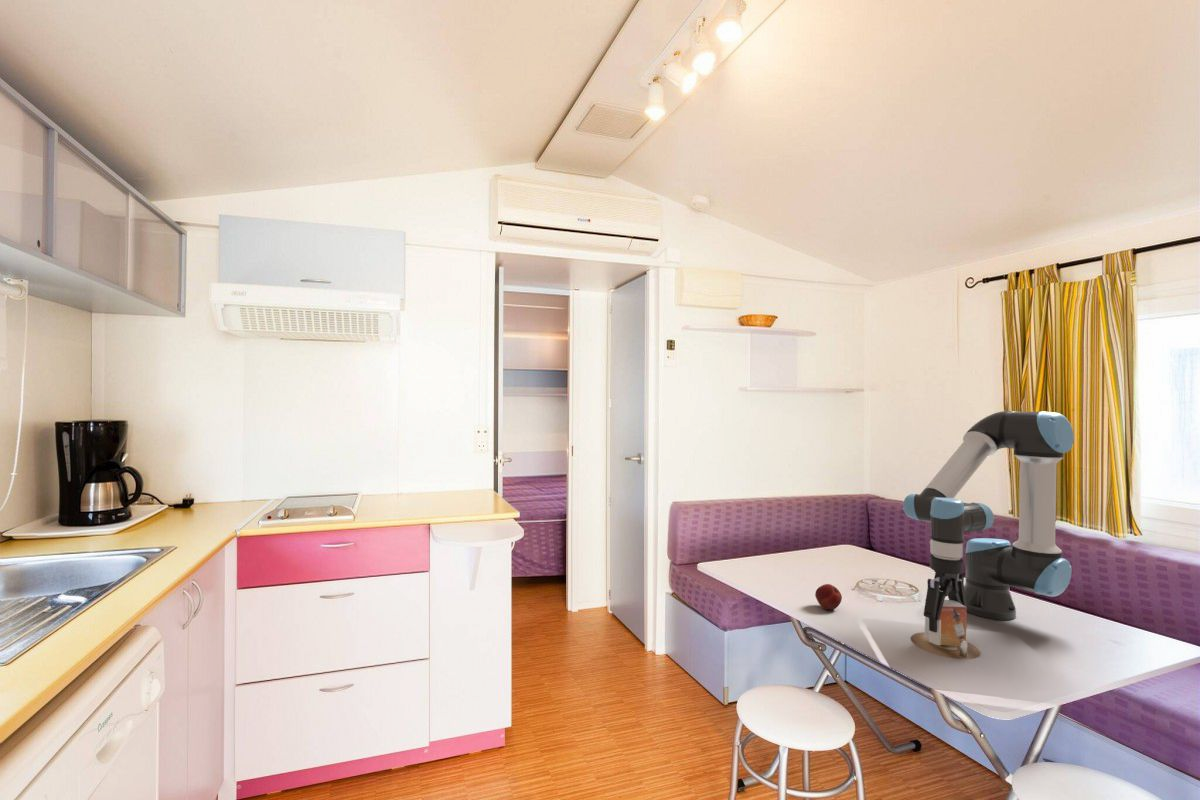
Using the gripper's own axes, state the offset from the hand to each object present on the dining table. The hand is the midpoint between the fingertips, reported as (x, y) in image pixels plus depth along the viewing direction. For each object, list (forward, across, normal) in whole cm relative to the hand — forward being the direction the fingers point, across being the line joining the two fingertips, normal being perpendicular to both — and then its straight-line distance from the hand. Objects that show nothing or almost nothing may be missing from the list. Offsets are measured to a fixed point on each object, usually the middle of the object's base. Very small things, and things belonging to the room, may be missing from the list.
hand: (945, 639), depth 148 cm
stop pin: (+1, +3, +6) cm, 7 cm away
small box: (+1, 0, 0) cm, 1 cm away
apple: (+3, +2, -35) cm, 35 cm away
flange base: (+3, 0, 0) cm, 3 cm away
